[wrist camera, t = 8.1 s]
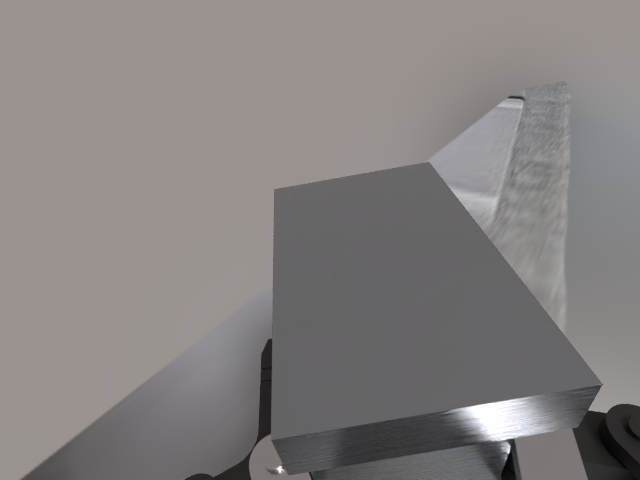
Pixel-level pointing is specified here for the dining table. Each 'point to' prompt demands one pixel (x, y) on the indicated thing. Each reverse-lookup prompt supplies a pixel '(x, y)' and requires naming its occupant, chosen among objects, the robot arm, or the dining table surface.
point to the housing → (406, 336)
